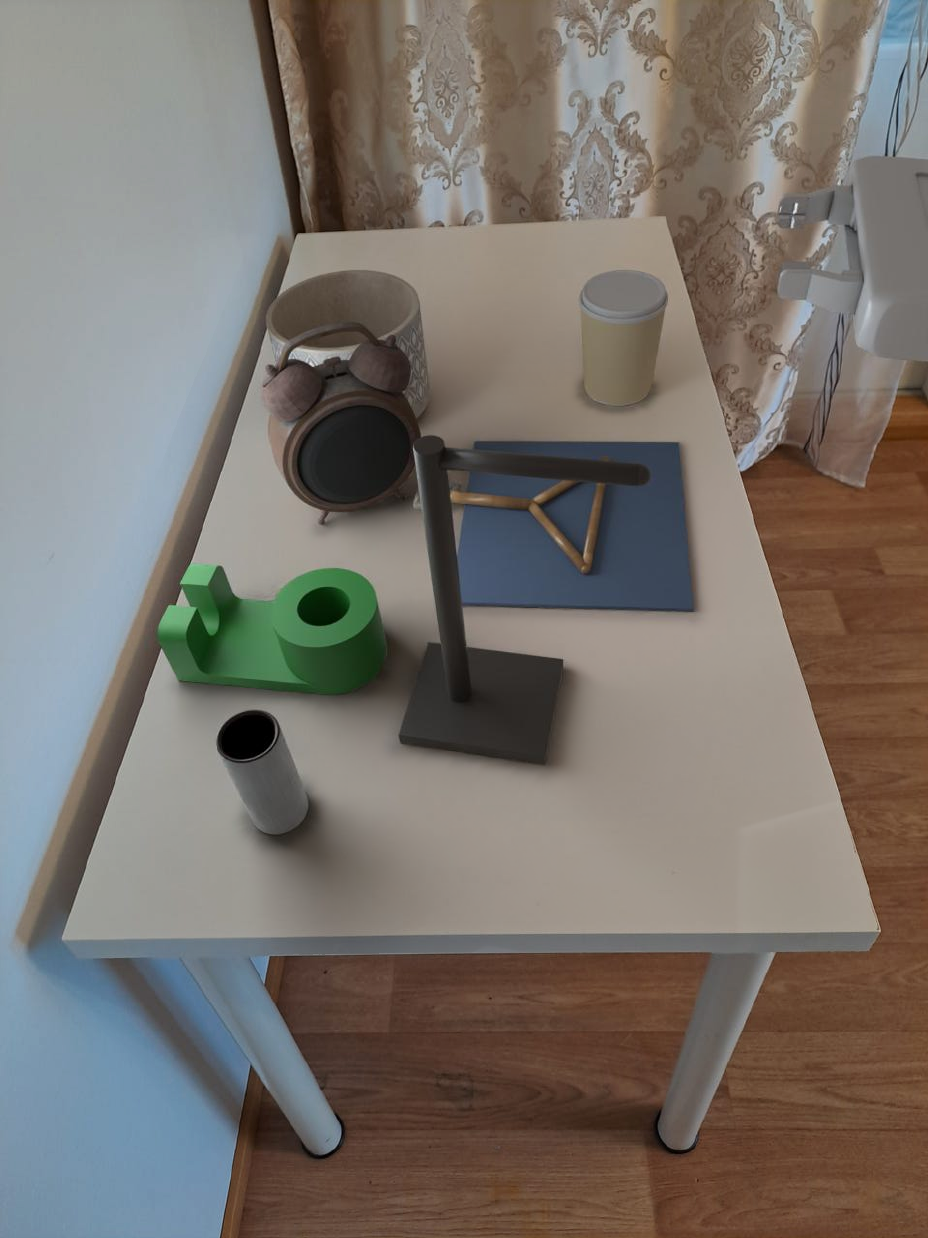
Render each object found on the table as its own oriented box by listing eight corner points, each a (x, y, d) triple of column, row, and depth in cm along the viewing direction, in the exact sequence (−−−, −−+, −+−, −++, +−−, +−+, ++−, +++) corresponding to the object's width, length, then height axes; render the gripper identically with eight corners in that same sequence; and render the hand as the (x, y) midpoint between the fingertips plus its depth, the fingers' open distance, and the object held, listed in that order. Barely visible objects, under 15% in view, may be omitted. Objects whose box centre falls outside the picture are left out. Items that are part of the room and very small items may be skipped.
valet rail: (630, 676, 77) (658, 412, 57) (617, 776, 71) (644, 519, 50) (429, 650, 80) (389, 393, 60) (399, 743, 74) (343, 491, 54)
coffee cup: (656, 363, 107) (666, 267, 98) (660, 410, 101) (671, 312, 92) (577, 363, 108) (580, 268, 99) (576, 410, 102) (578, 313, 93)
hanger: (611, 453, 94) (435, 437, 98) (590, 568, 84) (394, 545, 87) (610, 462, 95) (436, 446, 99) (589, 577, 85) (395, 554, 88)
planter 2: (283, 383, 110) (258, 286, 100) (414, 356, 112) (401, 258, 102) (301, 465, 99) (274, 364, 90) (445, 433, 101) (434, 331, 92)
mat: (678, 444, 97) (678, 441, 97) (692, 611, 81) (693, 608, 81) (474, 443, 100) (474, 440, 99) (450, 605, 84) (450, 602, 84)
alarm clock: (302, 545, 91) (253, 373, 76) (284, 502, 95) (235, 332, 80) (437, 502, 93) (416, 328, 79) (414, 462, 98) (389, 291, 83)
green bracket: (396, 620, 83) (387, 571, 78) (374, 699, 77) (362, 651, 72) (213, 605, 86) (193, 557, 81) (178, 680, 80) (154, 633, 75)
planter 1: (262, 845, 69) (226, 773, 61) (243, 799, 72) (207, 725, 64) (317, 818, 70) (289, 744, 62) (297, 775, 73) (267, 699, 65)
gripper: (999, 131, 61) (786, 129, 64) (1060, 286, 48) (789, 274, 51) (967, 223, 66) (770, 217, 69) (1014, 386, 53) (769, 371, 56)
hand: (778, 243), depth 60 cm, fingers open, 8 cm apart
